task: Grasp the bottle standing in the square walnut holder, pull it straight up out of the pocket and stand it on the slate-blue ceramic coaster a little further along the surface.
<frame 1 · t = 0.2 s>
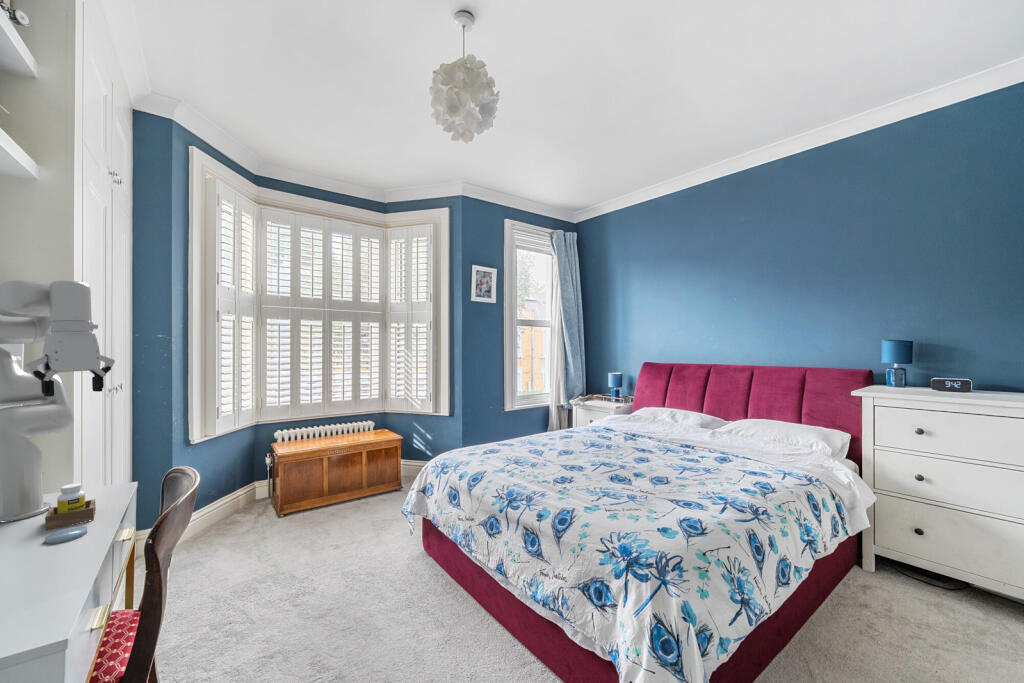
hand: (74, 393, 112), 36 cm above the table, tool pointing down, fingers open, 9 cm apart
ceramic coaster: (66, 536, 109), on the table
walnut holder: (72, 520, 119), on the table
supplement bottle: (72, 521, 119), resting in walnut holder
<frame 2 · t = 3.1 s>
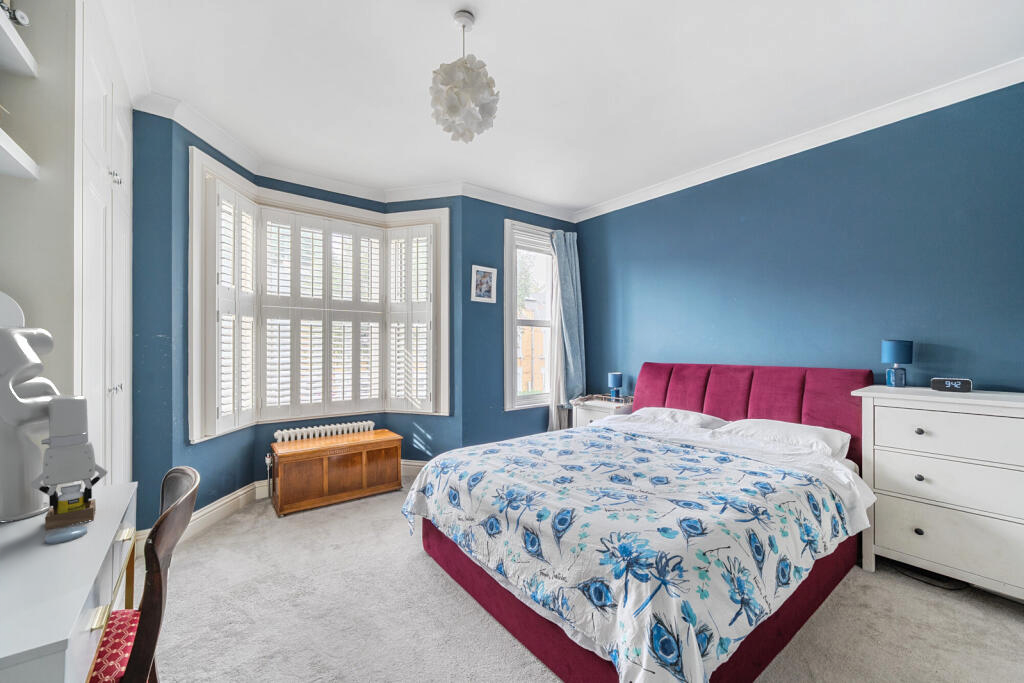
hand: (71, 504, 119), 5 cm above the table, tool pointing down, fingers closed on supplement bottle, 5 cm apart
supplement bottle: (72, 521, 119), resting in walnut holder, touching gripper
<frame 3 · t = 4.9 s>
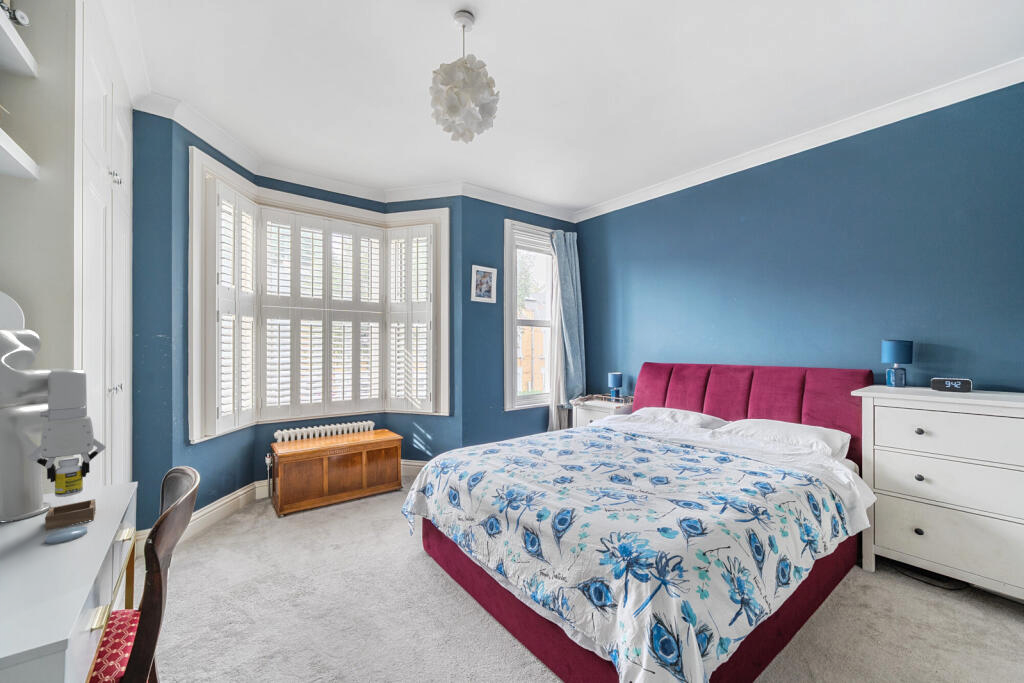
hand: (69, 477, 119), 12 cm above the table, tool pointing down, fingers closed on supplement bottle, 5 cm apart
supplement bottle: (69, 494, 119), point 7 cm above the table, touching gripper
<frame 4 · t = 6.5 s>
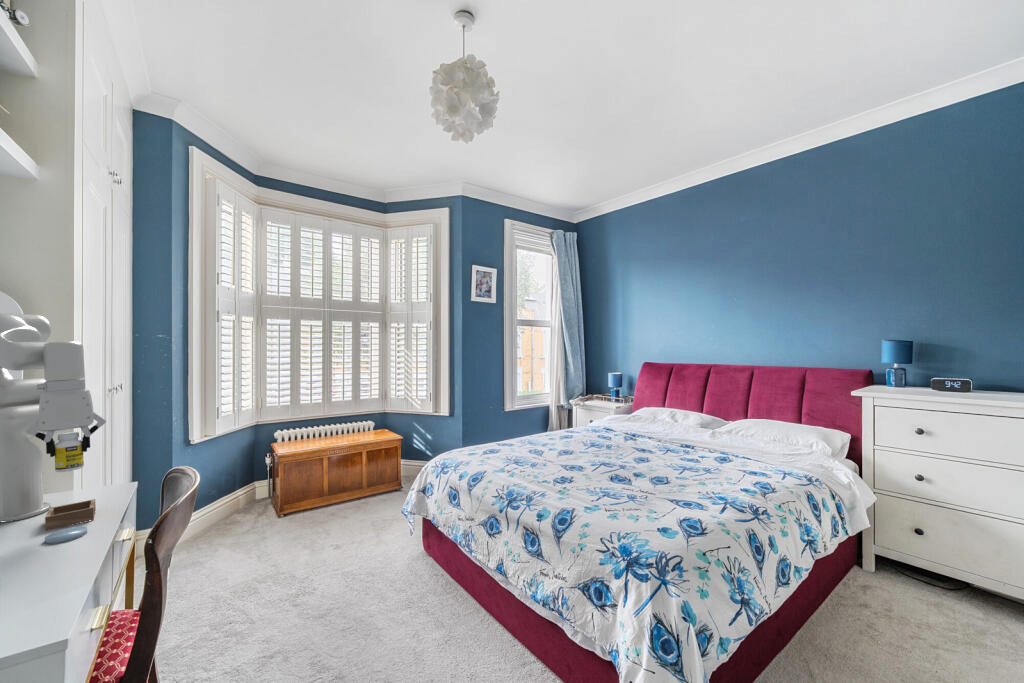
hand: (69, 452, 115), 20 cm above the table, tool pointing down, fingers closed on supplement bottle, 5 cm apart
supplement bottle: (70, 470, 115), point 15 cm above the table, touching gripper
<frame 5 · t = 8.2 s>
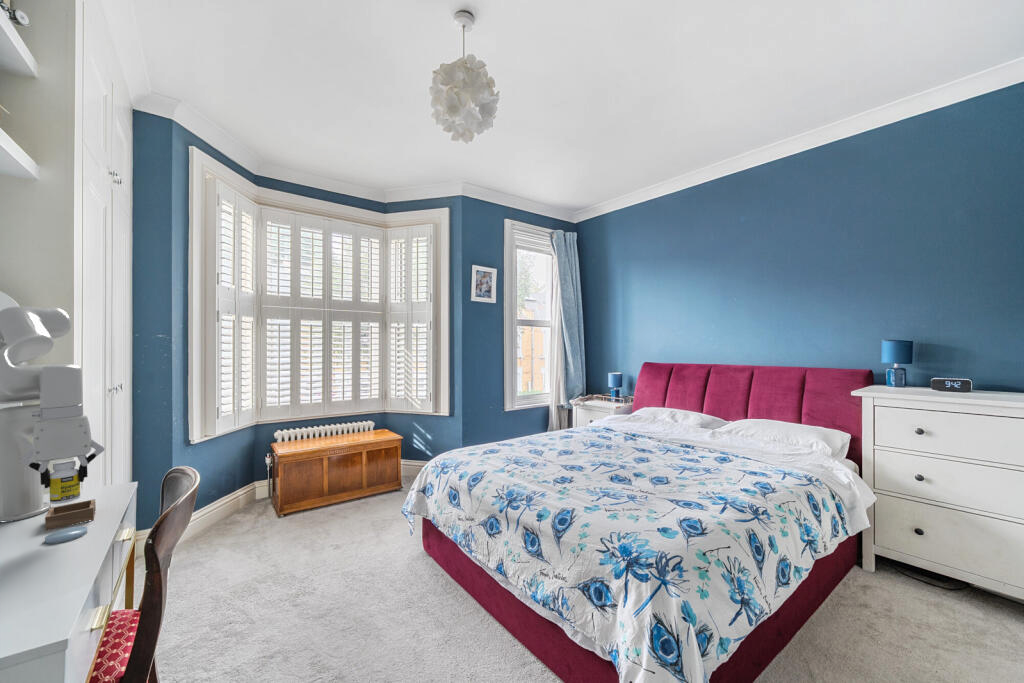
hand: (65, 483, 109), 14 cm above the table, tool pointing down, fingers closed on supplement bottle, 5 cm apart
supplement bottle: (65, 501, 109), point 9 cm above the table, touching gripper
when the fingers open (7 cm above the table, at t = 9.8 s): supplement bottle drops 1 cm, resting on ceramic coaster.
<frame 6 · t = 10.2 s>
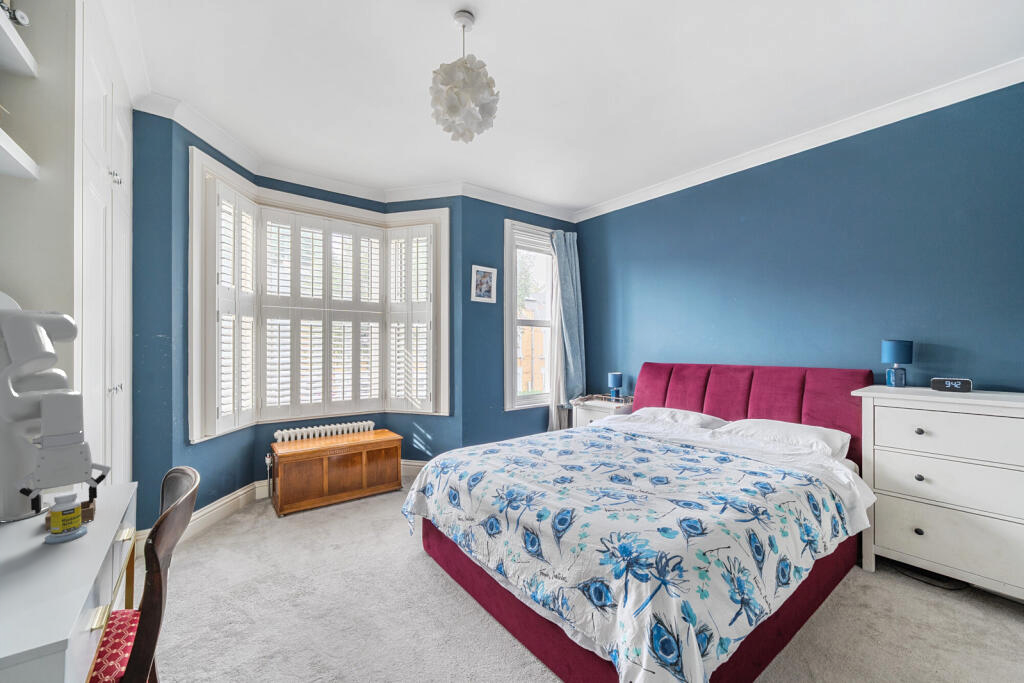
hand: (65, 506, 109), 8 cm above the table, tool pointing down, fingers open, 9 cm apart
supplement bottle: (66, 533, 109), point 1 cm above the table, touching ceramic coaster
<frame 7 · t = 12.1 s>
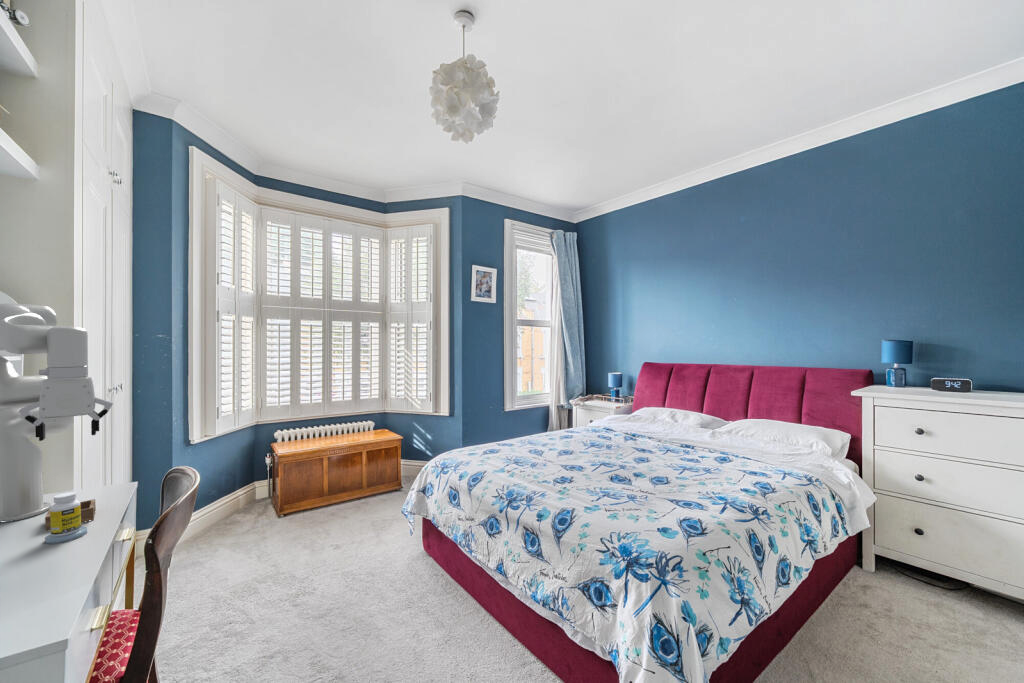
hand: (68, 436, 114), 25 cm above the table, tool pointing down, fingers open, 9 cm apart
nothing on the table moved.
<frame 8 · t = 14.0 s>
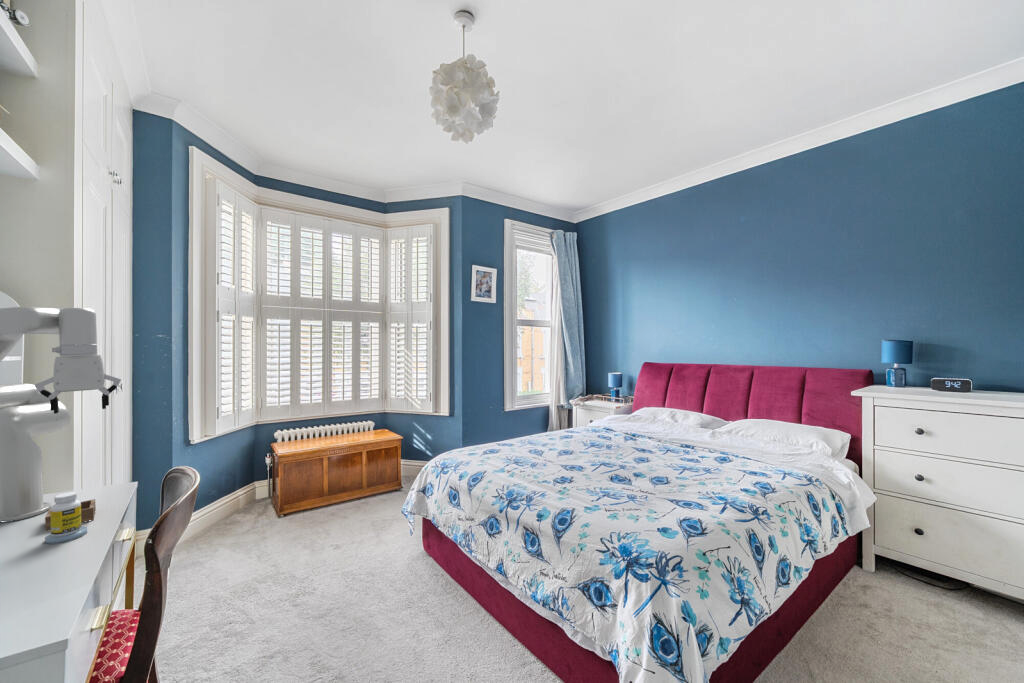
hand: (80, 410, 122), 30 cm above the table, tool pointing down, fingers open, 9 cm apart
nothing on the table moved.
at the end: supplement bottle 0.2 cm from the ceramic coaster (horizontally); supplement bottle tilted 1°; the gripper is holding nothing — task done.
